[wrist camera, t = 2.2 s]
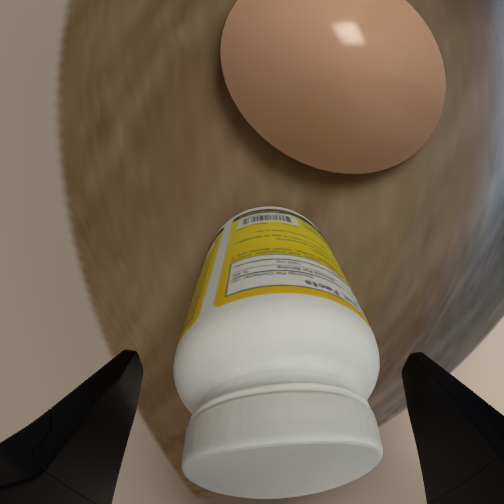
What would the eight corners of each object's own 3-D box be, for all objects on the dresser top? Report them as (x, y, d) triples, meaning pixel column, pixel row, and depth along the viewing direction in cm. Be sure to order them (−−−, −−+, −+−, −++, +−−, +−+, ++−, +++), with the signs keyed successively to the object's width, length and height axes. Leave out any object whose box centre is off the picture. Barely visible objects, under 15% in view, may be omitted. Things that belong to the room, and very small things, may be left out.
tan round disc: (466, 108, 10) (474, 109, 10) (319, 214, 14) (322, 219, 13) (348, -49, 7) (352, -56, 6) (175, 43, 10) (170, 39, 9)
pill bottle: (257, 324, 17) (256, 509, 7) (185, 251, 15) (97, 450, 5) (347, 269, 15) (432, 456, 5) (282, 177, 13) (358, 366, 3)
